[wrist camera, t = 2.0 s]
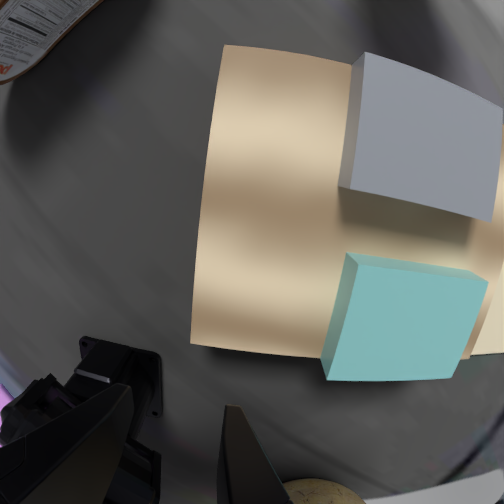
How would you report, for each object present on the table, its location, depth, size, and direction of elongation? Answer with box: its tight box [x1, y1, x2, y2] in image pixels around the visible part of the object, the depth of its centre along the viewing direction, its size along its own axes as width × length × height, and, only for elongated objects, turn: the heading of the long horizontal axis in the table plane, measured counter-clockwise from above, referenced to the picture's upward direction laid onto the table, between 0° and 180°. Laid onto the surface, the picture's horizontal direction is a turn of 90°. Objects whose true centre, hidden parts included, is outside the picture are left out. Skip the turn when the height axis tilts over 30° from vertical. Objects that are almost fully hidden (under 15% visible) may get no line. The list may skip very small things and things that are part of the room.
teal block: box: [320, 252, 489, 381], centre depth 14 cm, size 6×8×2 cm
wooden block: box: [190, 45, 504, 359], centre depth 16 cm, size 15×18×4 cm
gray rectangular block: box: [337, 52, 503, 223], centre depth 12 cm, size 6×8×2 cm
